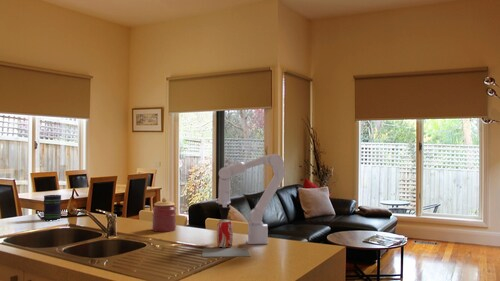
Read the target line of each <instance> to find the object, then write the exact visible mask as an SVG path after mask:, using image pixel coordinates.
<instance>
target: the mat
mask: <svg viewBox="0 0 500 281" xmlns="http://www.w3.org/2000/svg"><path fill="white" fill-rule="evenodd" d="M201 252H202V253H201V258H247V257H248V258H249V257H251V253H250V251H249V249H248V247H237V248H236V247H233V248H231V247H229V248H220V247H219V248H216V247H215V248H202V251H201Z"/></svg>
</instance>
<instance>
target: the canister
mask: <svg viewBox="0 0 500 281" xmlns="http://www.w3.org/2000/svg"><path fill="white" fill-rule="evenodd" d="M161 199H162V200H160V201H157V202H155V203H153V205H154V207H152V225H151V226H152V227H151V228H152V229H151V230H152V231H153V232H158V231H159V232H163V233H164V232H165V233H166V232H167V231H168V232H173V231H175V230H176V228H177V223H176V222H177V213H176V209H177V206H175V205H176V203H174V202H173V201H171V200H168V198H167V197H162V198H161ZM159 232H158V233H159Z"/></svg>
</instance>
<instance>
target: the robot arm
mask: <svg viewBox="0 0 500 281" xmlns="http://www.w3.org/2000/svg"><path fill="white" fill-rule="evenodd" d="M260 165H266V166H269V165H270V166H271V168H272V173H273V177H272V178H271V180H270V182H269V183H268V185H267V187H266V188H265V190H264V192H263V193H262V195H261V197H260V199H259V200H258V202H257V203H256V204H255V206H254V208H252V209H251V210H250V211H249V214H248V215H249V216H248V220H249V222H247V235H248V236H247V239H246V242H247V244H248V245H268V244H269V242H268V241H269V236H268V235H269V234H268V233H269V229H268V223H264V222H263V216H264V214H265V212H266V209H267V208H268V206H269V204H270V202H271V201H272V199H273V197H274V195H275V193H276V192H277V190H278V188H279V187H280V185H281V184H282V181H283V180H284V179H285V176H286V175H285V163H284V160H283V158H282V156H281V155H280V154H278V153H272V154H267V155H263V156H260V157H257V158H255V159H251V160H249V161H247V162H246V161H245V162H243V161H239V160H237V161H235V162H234V163H232V164H227V165H226V166H223V167H221V168H220V169H219V171H218V176H219V179H218V200H216V201H215V203H216V204H217V206H218V210H219V212H220V218H221V219H220V220H224V219H226V220H228V216H229V212H230V210H231V207H230V204H231V203H232V201H231V186H232V185H231V177H236V176H238V175H239V176H240V175H242V174H245V173H246V172H247V170H249V169H251V168H254V167H257V166H260Z"/></svg>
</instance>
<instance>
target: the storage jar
mask: <svg viewBox="0 0 500 281" xmlns="http://www.w3.org/2000/svg"><path fill="white" fill-rule="evenodd" d="M61 205H62V195H61V194H45V195H44V196H43V208H44V209H43V221H44V220H57V219H60V218H61V216H62V210H61V208H62V207H61Z"/></svg>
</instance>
